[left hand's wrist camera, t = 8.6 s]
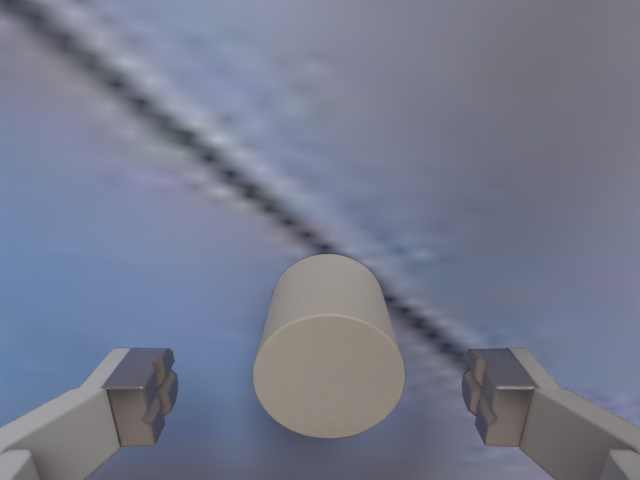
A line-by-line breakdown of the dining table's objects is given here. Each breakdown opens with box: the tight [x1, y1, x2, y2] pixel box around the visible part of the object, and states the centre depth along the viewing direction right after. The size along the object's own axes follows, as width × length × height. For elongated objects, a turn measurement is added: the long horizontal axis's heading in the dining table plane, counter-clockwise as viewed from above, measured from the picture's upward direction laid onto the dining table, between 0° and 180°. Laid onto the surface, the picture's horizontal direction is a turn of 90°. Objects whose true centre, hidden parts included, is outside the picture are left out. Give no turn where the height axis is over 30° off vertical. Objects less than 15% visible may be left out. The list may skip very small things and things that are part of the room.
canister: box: [253, 254, 405, 439], centre depth 13 cm, size 4×4×4 cm
